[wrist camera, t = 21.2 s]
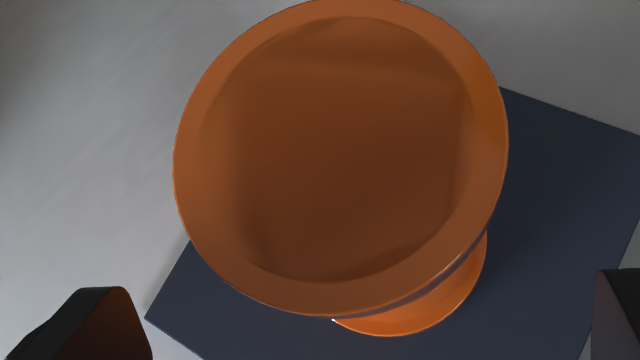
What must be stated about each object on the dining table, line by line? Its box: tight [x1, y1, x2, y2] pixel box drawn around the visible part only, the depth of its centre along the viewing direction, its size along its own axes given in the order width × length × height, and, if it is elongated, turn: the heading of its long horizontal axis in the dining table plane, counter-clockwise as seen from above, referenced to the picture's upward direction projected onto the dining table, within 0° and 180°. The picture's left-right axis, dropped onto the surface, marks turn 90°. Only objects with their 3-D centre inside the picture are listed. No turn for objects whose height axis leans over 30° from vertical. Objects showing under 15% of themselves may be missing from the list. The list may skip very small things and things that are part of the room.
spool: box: [172, 0, 509, 338], centre depth 13 cm, size 6×6×8 cm
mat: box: [144, 86, 640, 360], centre depth 16 cm, size 12×12×1 cm
